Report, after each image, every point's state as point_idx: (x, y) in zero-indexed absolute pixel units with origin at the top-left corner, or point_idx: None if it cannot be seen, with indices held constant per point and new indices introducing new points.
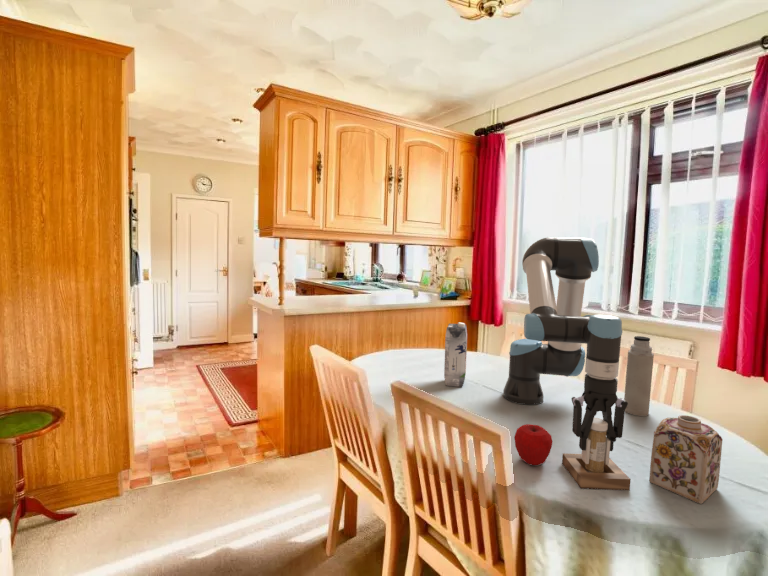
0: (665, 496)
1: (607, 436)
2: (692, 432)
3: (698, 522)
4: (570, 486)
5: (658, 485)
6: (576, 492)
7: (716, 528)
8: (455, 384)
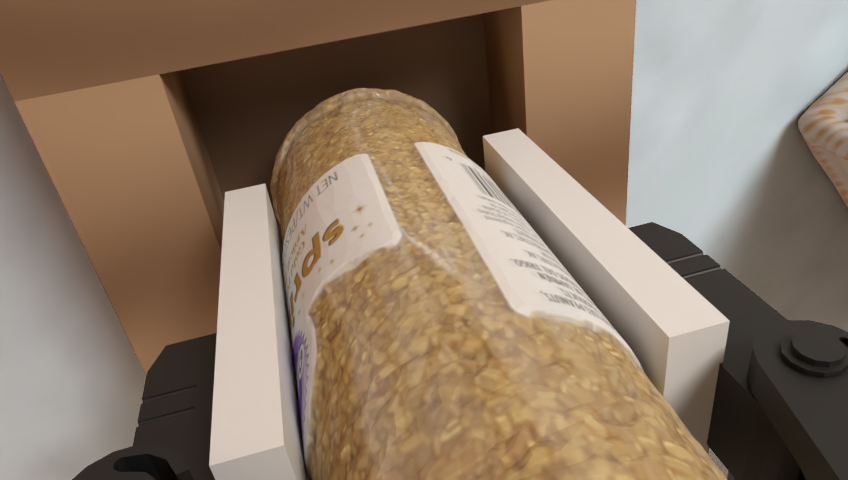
0: (770, 274)
1: (736, 426)
2: None
3: None
4: (107, 373)
5: (821, 165)
6: None
7: None
8: None
